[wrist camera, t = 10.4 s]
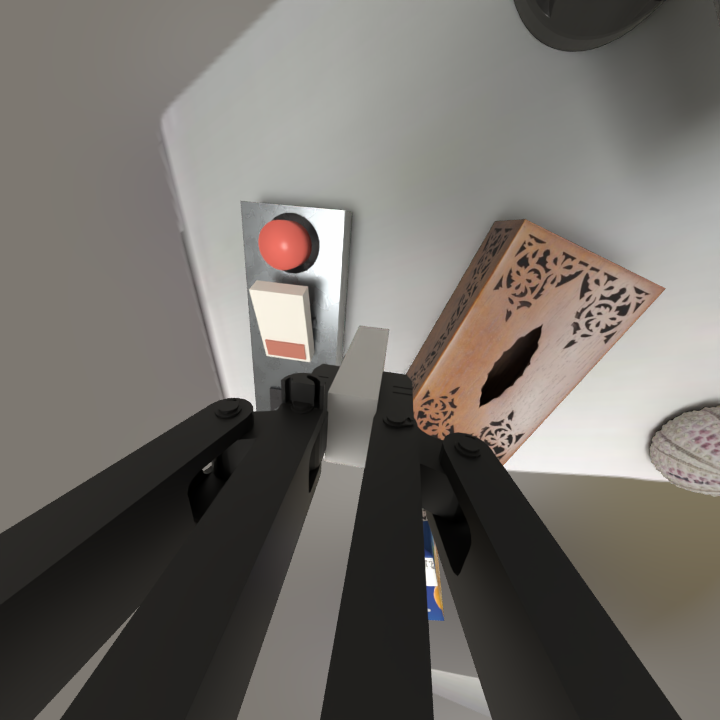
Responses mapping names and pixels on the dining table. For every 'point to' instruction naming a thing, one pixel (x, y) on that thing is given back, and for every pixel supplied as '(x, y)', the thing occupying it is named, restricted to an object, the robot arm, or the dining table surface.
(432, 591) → the beverage box
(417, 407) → the tissue box cover
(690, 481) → the sea urchin shell
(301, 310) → the plate
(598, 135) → the dining table surface
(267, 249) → the button
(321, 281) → the console
